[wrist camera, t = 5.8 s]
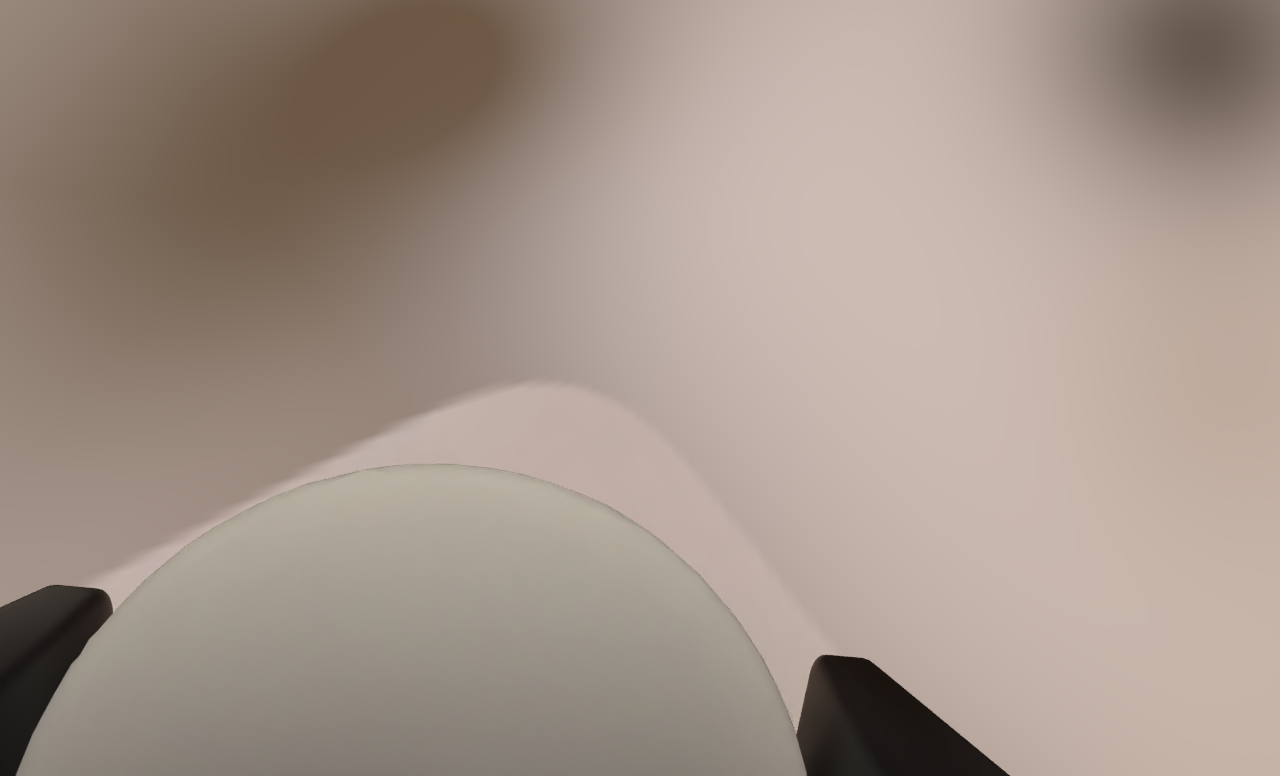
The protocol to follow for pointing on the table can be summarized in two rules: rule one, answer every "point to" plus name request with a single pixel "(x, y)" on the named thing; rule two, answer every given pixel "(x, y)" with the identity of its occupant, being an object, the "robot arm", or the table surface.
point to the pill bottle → (420, 646)
